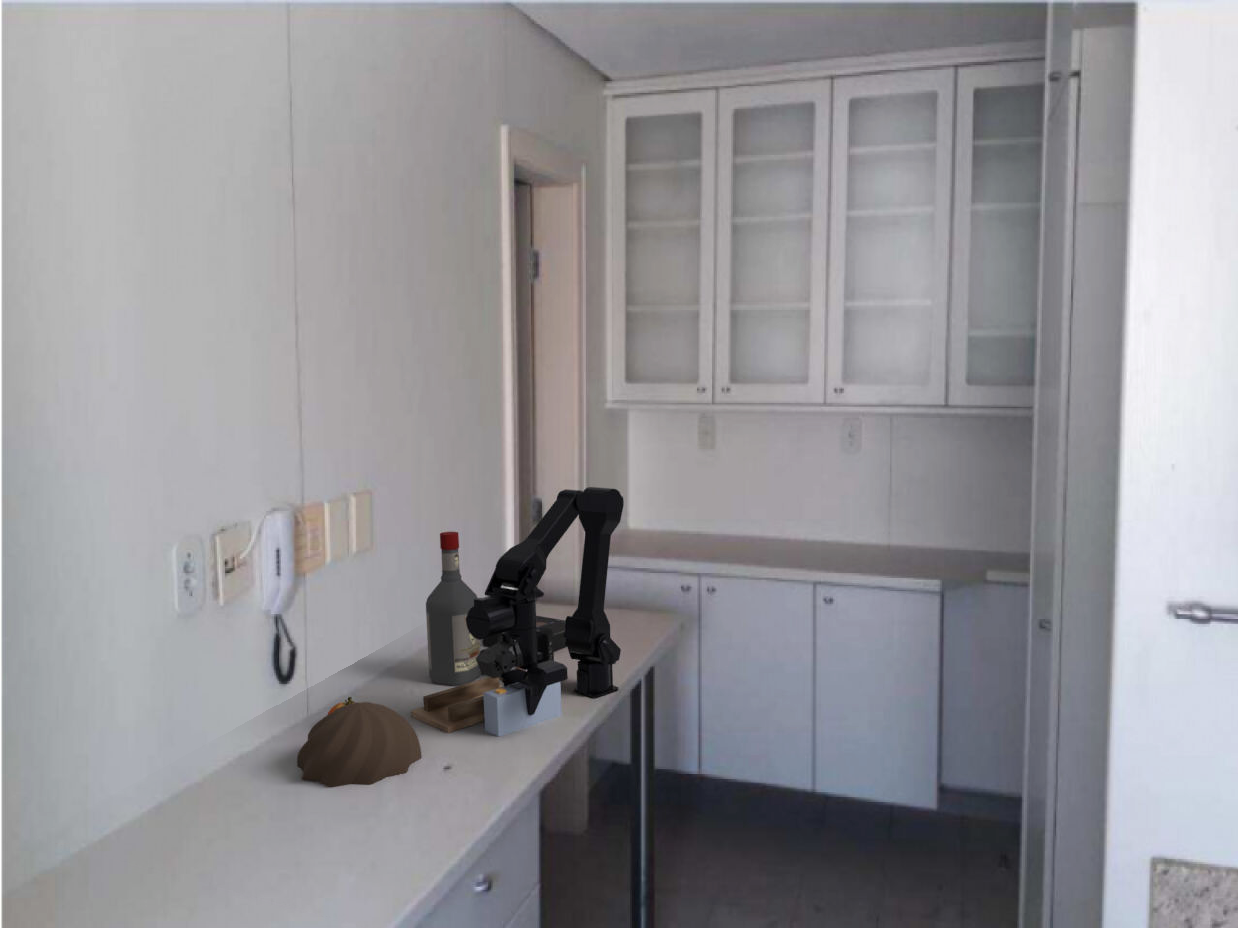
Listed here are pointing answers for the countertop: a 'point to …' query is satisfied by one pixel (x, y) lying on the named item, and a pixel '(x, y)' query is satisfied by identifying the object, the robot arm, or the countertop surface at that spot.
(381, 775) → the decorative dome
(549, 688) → the power strip
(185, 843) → the countertop surface
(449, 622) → the liquor
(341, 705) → the tomato
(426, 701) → the dock
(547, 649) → the electronic device
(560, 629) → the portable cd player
